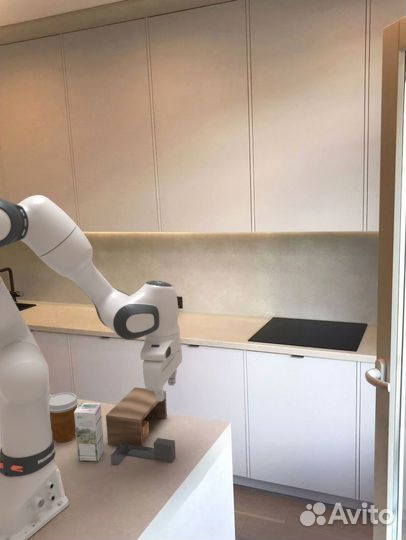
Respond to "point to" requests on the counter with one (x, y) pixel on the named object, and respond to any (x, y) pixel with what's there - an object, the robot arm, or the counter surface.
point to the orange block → (145, 429)
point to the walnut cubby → (133, 416)
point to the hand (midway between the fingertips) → (166, 392)
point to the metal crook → (146, 451)
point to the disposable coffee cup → (63, 416)
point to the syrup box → (89, 431)
